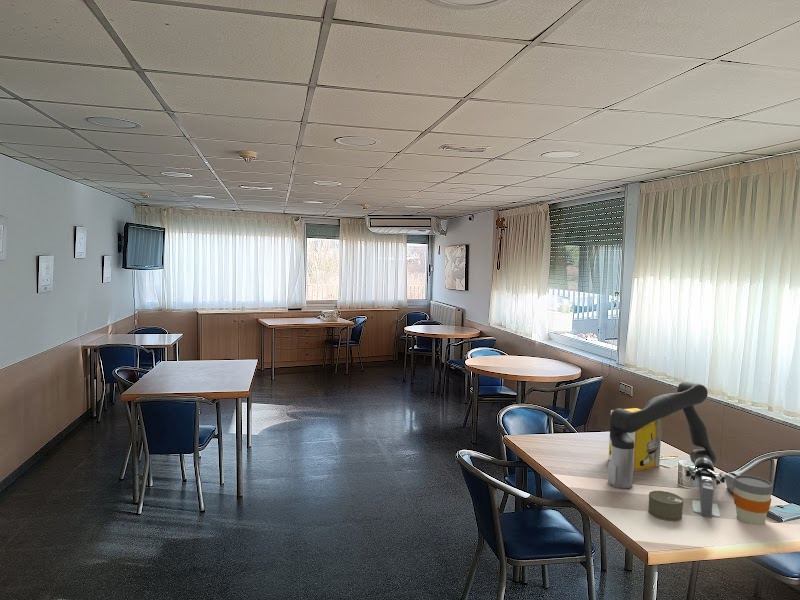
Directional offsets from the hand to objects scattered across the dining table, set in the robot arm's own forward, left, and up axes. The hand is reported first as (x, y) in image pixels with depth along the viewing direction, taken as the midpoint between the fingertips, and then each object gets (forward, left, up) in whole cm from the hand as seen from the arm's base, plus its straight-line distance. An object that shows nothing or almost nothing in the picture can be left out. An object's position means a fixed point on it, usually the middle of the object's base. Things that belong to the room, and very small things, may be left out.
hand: (705, 480), depth 218 cm
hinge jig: (-7, -10, -8) cm, 14 cm away
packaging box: (-7, +41, -8) cm, 42 cm away
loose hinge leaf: (-5, -7, -7) cm, 11 cm away
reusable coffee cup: (+5, -19, -8) cm, 21 cm away
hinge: (+18, +2, -8) cm, 20 cm away
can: (-26, -12, -8) cm, 30 cm away
